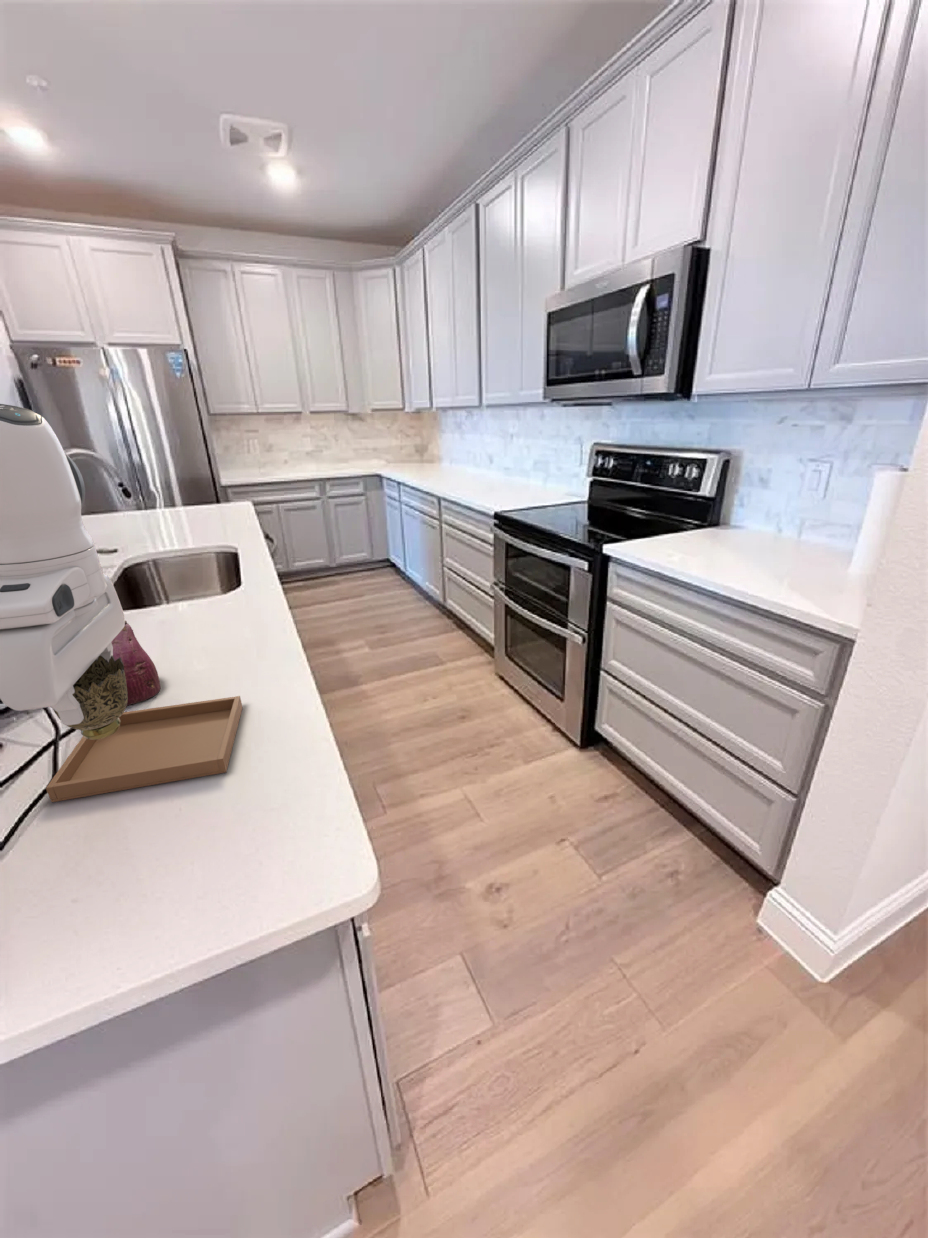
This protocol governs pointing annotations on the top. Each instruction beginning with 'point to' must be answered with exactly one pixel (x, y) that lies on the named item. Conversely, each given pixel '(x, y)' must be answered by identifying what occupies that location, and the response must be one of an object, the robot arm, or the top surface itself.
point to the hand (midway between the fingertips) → (91, 700)
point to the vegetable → (135, 666)
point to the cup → (101, 698)
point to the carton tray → (152, 749)
